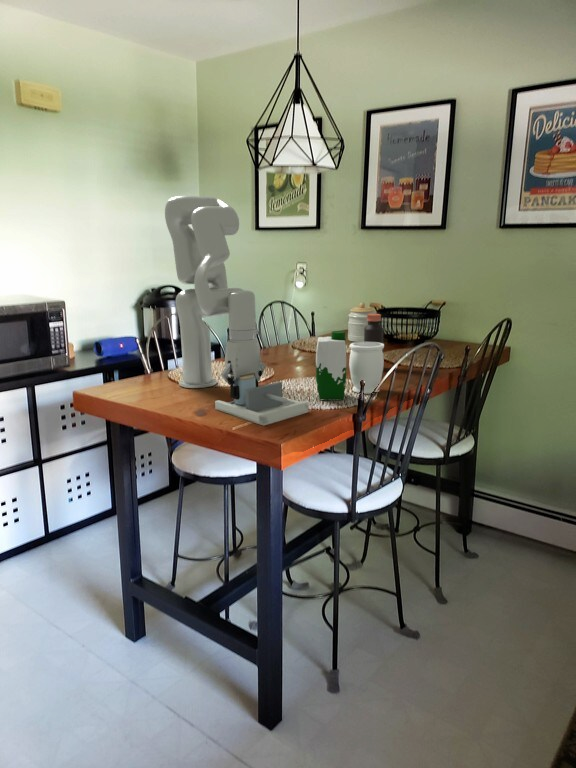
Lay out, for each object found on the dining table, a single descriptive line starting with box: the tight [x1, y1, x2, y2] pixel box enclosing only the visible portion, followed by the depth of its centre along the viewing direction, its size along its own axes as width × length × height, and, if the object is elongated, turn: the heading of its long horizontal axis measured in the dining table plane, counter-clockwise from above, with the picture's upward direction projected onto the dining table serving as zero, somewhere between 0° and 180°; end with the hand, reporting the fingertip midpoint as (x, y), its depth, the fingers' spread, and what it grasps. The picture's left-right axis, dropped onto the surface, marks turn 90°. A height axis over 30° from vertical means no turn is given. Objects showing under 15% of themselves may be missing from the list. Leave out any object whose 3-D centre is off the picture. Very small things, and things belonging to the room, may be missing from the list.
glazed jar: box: [233, 374, 256, 405], centre depth 164 cm, size 6×6×8 cm
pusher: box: [246, 381, 287, 412], centre depth 155 cm, size 9×12×6 cm
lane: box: [214, 396, 309, 426], centre depth 160 cm, size 21×16×3 cm
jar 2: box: [348, 342, 385, 395], centre depth 177 cm, size 11×10×15 cm
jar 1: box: [347, 302, 375, 343], centre depth 266 cm, size 13×13×18 cm
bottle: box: [364, 313, 384, 353], centre depth 206 cm, size 7×7×20 cm
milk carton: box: [315, 330, 347, 400], centre depth 170 cm, size 9×9×20 cm
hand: (244, 395), depth 164 cm, fingers closed on glazed jar, 6 cm apart
